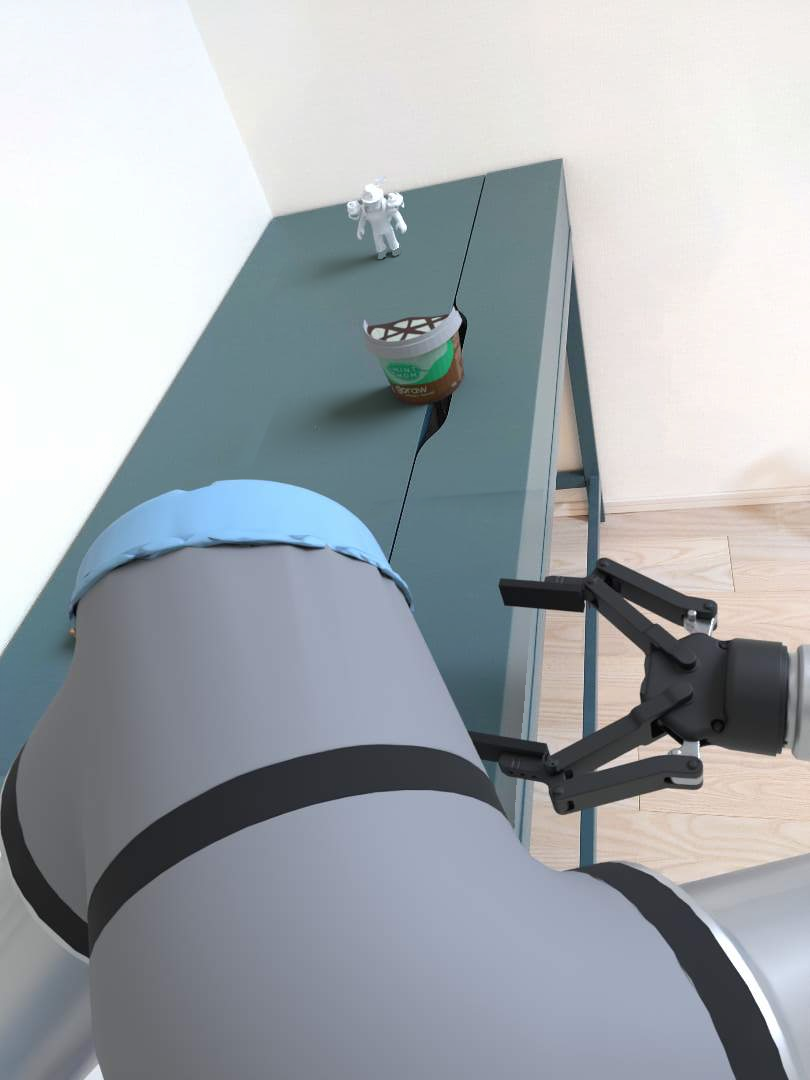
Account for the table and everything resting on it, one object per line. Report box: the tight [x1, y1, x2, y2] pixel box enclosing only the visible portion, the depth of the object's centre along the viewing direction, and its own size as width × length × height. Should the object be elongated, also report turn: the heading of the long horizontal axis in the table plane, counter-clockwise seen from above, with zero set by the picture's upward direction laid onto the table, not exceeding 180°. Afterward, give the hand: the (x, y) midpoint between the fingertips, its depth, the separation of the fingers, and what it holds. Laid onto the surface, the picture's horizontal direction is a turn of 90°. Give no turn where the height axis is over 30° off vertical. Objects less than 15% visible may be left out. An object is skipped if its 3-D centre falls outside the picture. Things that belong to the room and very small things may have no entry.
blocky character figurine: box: [346, 174, 408, 253], centre depth 124 cm, size 9×4×12 cm, turn 81°
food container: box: [362, 305, 465, 406], centre depth 98 cm, size 12×6×10 cm, turn 81°
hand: (481, 662), depth 62 cm, fingers open, 13 cm apart
